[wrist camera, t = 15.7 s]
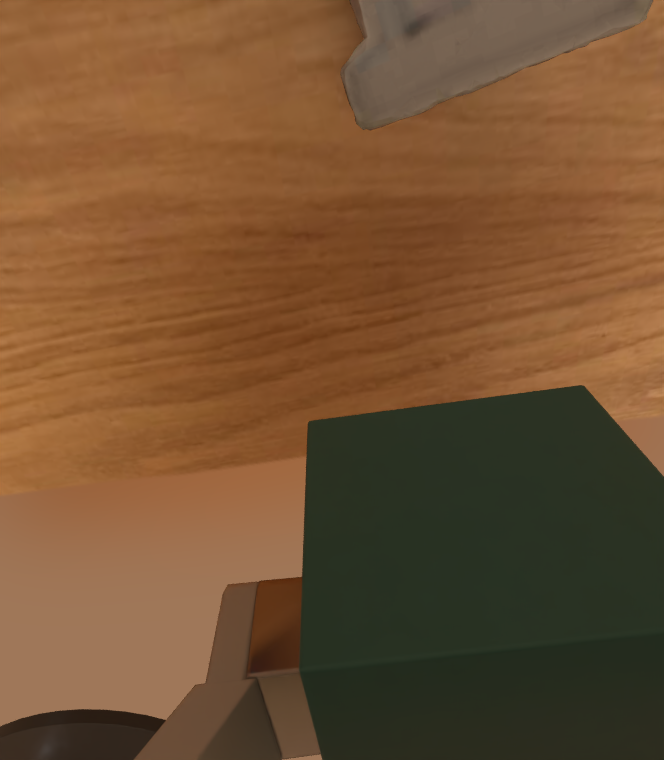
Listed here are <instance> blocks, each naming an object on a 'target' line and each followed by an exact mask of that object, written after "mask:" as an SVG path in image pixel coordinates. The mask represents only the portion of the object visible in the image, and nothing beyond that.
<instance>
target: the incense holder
mask: <svg viewBox="0 0 664 760" xmlns="http://www.w3.org/2000/svg"><path fill="white" fill-rule="evenodd" d="M349 1H350V4H351V6H352V8H353V11H354V13H355V16H356V19H357V24H358V25H359V27H360V30H361V32H362V35H363V38H364V40H363V41H362V42H361V43H360V44H359V45H358V46H357V47H356V48H355V50H354V52H353V53H352V55H351V57H350V58H349V59H348V61H347V62H346V63H345V64H344V66H343V67H342V68H341V78H342V81H343V84H344V88H345V91H346V94H347V98H348V101H349V104H350V106H351V108H352V109H353V111H354V114H355V121H356V124H357V125H358V126H360V127H361V128H362V129H363V130H365V129H368V130H373V129H376V128H380V127H383V126H385V125H388V124H390V123H393V122H395V121H398V120H401V119H404V118H407V117H411V116H414V115H418V114H420V113H423V112H425V111H427V110H429V109H431V108H432V107H434V106H435V105H437V104H439V103H441V102H444V101H446V100H449V99H451V98H454V97H457V96H461V95H464V94H468V93H471V92H474V91H476V90H478V89H480V88H483V87H485V86H488V85H490V84H492V83H495V82H497V81H499V80H502V79H504V78H506V77H508V76H510V75H512V74H514V73H516V72H518V71H520V70H522V69H524V68H526V67H530V66H534V65H537V64H540V63H542V62H545V61H548V60H550V59H552V58H554V57H556V56H558V55H560V54H563V53H569V52H571V51H573V50H575V49H577V48H581V47H585V46H587V45H588V44H589V43H590V42H593V41H596V40H599V39H602V38H605V37H608V36H611V35H614V34H617V33H619V32H622V31H625V30H627V29H630V28H632V27H634V26H635V25H637V24H639V23H641V22H642V21H644V20H645V19H647V13H648V11H649V9H650V7H651V4H652V2H653V0H349Z"/></svg>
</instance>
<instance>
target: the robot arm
mask: <svg viewBox="0 0 664 760" xmlns="http://www.w3.org/2000/svg"><path fill="white" fill-rule="evenodd" d="M301 597H302V577H296V578H286V579H274V580H264V581H259V582H249V583H239V584H228V585H227V587H226V589H225V591H224V593H223V595H222V601H221V606H220V612H219V616H218V621H217V626H216V632H215V637H214V642H213V648H212V653H211V658H210V663H209V668H208V673H207V679H206V683H205V684H198V685H195V686H194V687H193V688H192V690H191V691H190V692H189V693H188V694H187V696H186V697H185V698H184V699H183V700H182V702H181V703H180V704H179V705H178V707H177V708H176V709H175V710H174V711H173V713H172V714H171V715H170V716H169V717H168V719H167V720H166V721H165V722H164V723H163V725H162V726H161V727H160V728H159V730H158V731H157V732H156V733H155V734H154V736H153V737H152V738H151V739H150V740H149V742H148V743H147V744H146V745H145V747H144V748H143V749H142V750H141V751H140V753H139V754H138V755H137V756H136V757H135V759H134V760H282V759H289V758H296V757H304V756H310V755H319V754H321V752H320V748H319V745H318V741H317V737H316V733H315V729H314V726H313V722H312V718H311V714H310V710H309V707H308V703H307V699H306V695H305V691H304V687H303V684H302V680H301V676H300V672H299V652H300V624H301Z"/></svg>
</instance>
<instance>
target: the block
mask: <svg viewBox="0 0 664 760" xmlns="http://www.w3.org/2000/svg"><path fill="white" fill-rule="evenodd" d="M304 515H305V517H304V541H303V542H304V544H303V569H302V571H303V572H302V597H301V624H300V652H299V672H300V676H301V680H302V684H303V687H304V691H305V695H306V699H307V703H308V707H309V710H310V714H311V718H312V722H313V726H314V729H315V733H316V737H317V741H318V745H319V748H320V752H321V756H322V760H664V476H663V475H662V474H661V473H660V472H659V471H658V470H657V468H656V467H655V466H654V465H653V464H652V463H651V462H650V461H649V459H648V458H647V457H646V456H645V455H644V454H643V453H642V451H641V450H640V449H639V448H638V447H637V446H636V444H634V442H633V441H632V440H631V439H630V438H629V437H628V435H627V434H626V433H625V432H624V431H623V430H622V428H621V427H620V426H619V425H618V424H617V423H616V422H615V421H614V419H613V418H612V417H611V416H610V415H609V414H608V413H607V411H606V410H605V409H604V408H603V407H602V406H601V405H600V403H599V402H598V401H597V400H596V399H595V398H594V397H593V395H592V394H591V393H590V392H589V391H588V390H587V389H586V388H585V386H582V385H579V386H571V387H564V388H556V389H548V390H541V391H533V392H526V393H518V394H510V395H503V396H495V397H488V398H480V399H473V400H465V401H457V402H450V403H442V404H435V405H427V406H419V407H412V408H404V409H397V410H389V411H382V412H374V413H366V414H359V415H351V416H344V417H336V418H328V419H321V420H313V421H309V422H308V431H307V459H306V487H305V514H304Z"/></svg>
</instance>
